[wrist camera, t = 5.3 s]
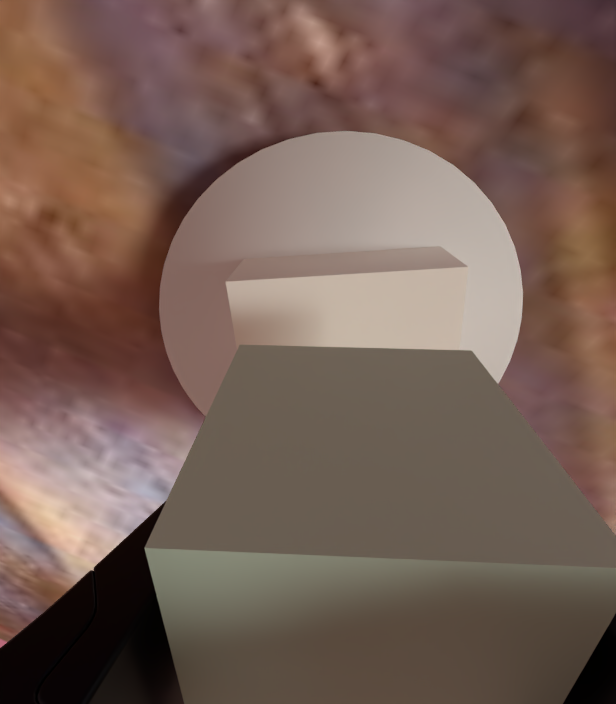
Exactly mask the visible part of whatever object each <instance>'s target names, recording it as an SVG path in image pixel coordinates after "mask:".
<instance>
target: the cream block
mask: <svg viewBox="0 0 616 704" xmlns="http://www.w3.org/2000/svg"><path fill="white" fill-rule="evenodd" d="M467 276H468V266H467V265H465V264H464V263H463V262H461V261H460V260H458V259H457V258H456V257H454V256H453V255H452V254H450V253H449V252H448V251H446V250H445V249H443V248H442V247H441V246H437V247H422V248H406V249H391V250H376V251H360V252H345V253H329V254H314V255H299V256H283V257H268V258H252V259H244V260H243V261H242V262H241V263H240V265H239V266H238V267H237V268H236V270H235V271H234V272H233V273H232V274H231V276H230V277H229V278H228V279H227V281H226V287H227V293H228V299H229V305H230V311H231V317H232V323H233V329H234V335H235V341H236V347H237V349H238V347H239V345H277V346H316V347H355V348H395V349H434V350H460V341H461V331H462V322H463V313H464V304H465V294H466V285H467Z"/></svg>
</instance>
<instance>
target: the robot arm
mask: <svg viewBox="0 0 616 704" xmlns="http://www.w3.org/2000/svg"><path fill="white" fill-rule="evenodd" d="M165 503H166V501H165V502H164V503H163V504H162V505H161V506H160V507H159V508H158V509H157V510H156V511H155V512H154V513H152V514H151V515H150V516H149V517H148V518H147V519H146V520H145V521H144V522H143V523H142V524H141V525H139V526H138V527H137V528H136V529H135V530H134V531H133V532H132V533H131V534H130V535H129V536H128V537H126V538H125V539H124V540H123V541H122V542H121V543H120V544H119V545H118V546H117V547H116V548H114V549H113V550H112V551H111V552H110V553H109V554H108V555H107V556H106V557H105V558H104V559H103V560H101V561H100V562H99V563H98V564H97V565H96V566H95V567H94V571H89V572H88V573H87V574H86V575H85V576H84V577H83V578H82V579H81V580H80V581H78V582H77V583H76V584H75V585H74V586H73V587H72V588H71V589H70V590H69V591H67V592H66V593H65V594H64V595H63V596H62V597H61V598H59V599H58V600H57V601H56V602H55V603H54V604H53V605H52V606H50V607H49V608H48V609H47V610H46V611H45V612H44V613H43V614H41V615H40V616H39V617H38V618H36V619H35V620H34V621H33V622H32V623H30V624H29V625H28V626H27V627H26V628H24V629H23V630H22V631H21V632H19V633H18V634H17V635H16V636H15V637H13V638H12V639H11V640H10V641H9V642H7V643H6V644H5V645H4V646H2V647H1V648H0V704H184V701H183V697H182V693H181V689H180V685H179V681H178V677H177V673H176V670H175V666H174V662H173V658H172V654H171V650H170V646H169V642H168V638H167V634H166V630H165V627H164V623H163V619H162V615H161V611H160V607H159V603H158V599H157V595H156V591H155V588H154V584H153V580H152V576H151V572H150V568H149V564H148V560H147V556H146V552H145V546H146V544H147V541H148V539H149V537H150V535H151V533H152V531H153V529H154V526H155V524H156V522H157V520H158V518H159V516H160V514H161V512H162V509H163V507H164V505H165ZM563 704H616V614H615V615H614V617H613V619H612V620H611V622H610V624H609V626H608V627H607V629H606V631H605V632H604V634H603V636H602V638H601V639H600V641H599V643H598V644H597V646H596V648H595V649H594V651H593V653H592V655H591V656H590V658H589V660H588V661H587V663H586V665H585V667H584V668H583V670H582V672H581V673H580V675H579V677H578V679H577V680H576V682H575V684H574V685H573V687H572V689H571V691H570V692H569V694H568V696H567V697H566V699H565V701H564V703H563Z"/></svg>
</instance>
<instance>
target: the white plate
mask: <svg viewBox="0 0 616 704" xmlns="http://www.w3.org/2000/svg"><path fill="white" fill-rule="evenodd" d="M437 246H441V247H442V248H443V249H445V250H446V251H448V252H449V253H450V254H452V255H453V256H454V257H456V258H457V259H458V260H460V261H461V262H463V263H464V264H465V265H467V266H468V276H467V285H466V294H465V304H464V313H463V322H462V331H461V341H460V350H472V351H473V353H474V354H475V355H476V357H477V358H478V359H479V360H480V362H481V363H482V364H483V366H484V367H485V368H486V369H487V371H488V372H489V373H490V375H491V376H492V377H493V378H494V380H495V381H496V382H497V384H498V383H499V381H500V380H501V378H502V376H503V374H504V372H505V370H506V368H507V366H508V364H509V362H510V360H511V357H512V354H513V351H514V348H515V345H516V342H517V339H518V334H519V329H520V324H521V319H522V303H523V290H522V279H521V270H520V266H519V262H518V258H517V254H516V250H515V247H514V244H513V242H512V240H511V237H510V235H509V232H508V230H507V228H506V225H505V223H504V222H503V220H502V219H501V217H500V215H499V214H498V212H497V211H496V209H495V207H494V206H493V204H492V203H491V201H490V200H489V199H488V198H487V197H486V196H485V195H484V193H483V192H482V191H481V190H480V189H479V188H478V186H477V185H476V184H475V183H474V182H473V181H472V180H470V179H469V178H468V177H467V176H466V175H464V174H463V173H462V172H461V171H460V170H459V169H457V168H456V167H455V166H454V165H452V164H451V163H449V162H447V161H446V160H444V159H442V158H441V157H439V156H437V155H436V154H434V153H432V152H431V151H429V150H426V149H424V148H421V147H419V146H416V145H414V144H412V143H409V142H407V141H404V140H401V139H396V138H392V137H388V136H384V135H380V134H376V133H364V132H352V131H339V132H324V133H315V134H310V135H306V136H301V137H296V138H292V139H288V140H285V141H283V142H280V143H277V144H275V145H272V146H270V147H267V148H264V149H262V150H260V151H258V152H256V153H255V154H253V155H251V156H249V157H248V158H246V159H244V160H242V161H240V162H239V163H237V164H236V165H235V166H233V167H232V168H231V169H229V170H228V171H227V172H225V173H224V174H223V175H222V176H220V177H219V178H218V179H216V180H215V181H214V182H213V184H212V185H211V186H210V187H209V188H208V189H207V190H206V191H205V192H204V193H203V194H202V195H201V196H200V197H199V198H198V199H197V201H196V202H195V203H194V205H193V206H192V208H191V209H190V210H189V212H188V213H187V215H186V216H185V217H184V219H183V221H182V223H181V225H180V226H179V228H178V230H177V232H176V234H175V236H174V238H173V240H172V242H171V245H170V248H169V251H168V254H167V257H166V260H165V263H164V268H163V273H162V278H161V284H160V298H159V314H160V324H161V332H162V336H163V341H164V345H165V349H166V353H167V355H168V358H169V360H170V363H171V366H172V368H173V371H174V373H175V375H176V376H177V378H178V380H179V382H180V384H181V386H182V388H183V389H184V391H185V392H186V393H187V395H188V396H189V398H190V399H191V400H192V402H193V403H194V405H195V406H196V407H197V408H198V409H199V410H200V411H201V412H202V414H203V415H204V416H205V417H206V416H207V413H208V411H209V409H210V407H211V405H212V403H213V401H214V398H215V396H216V394H217V392H218V390H219V388H220V386H221V384H222V381H223V379H224V377H225V375H226V373H227V371H228V369H229V366H230V364H231V362H232V360H233V358H234V356H235V354H236V351H237V347H236V341H235V335H234V329H233V323H232V317H231V311H230V305H229V299H228V293H227V287H226V281H227V279H228V278H229V277H230V276H231V274H232V273H233V272H234V271H235V270H236V268H237V267H238V266H239V265H240V263H241V262H242V261H243V260H244V259H252V258H268V257H283V256H299V255H314V254H329V253H345V252H360V251H376V250H391V249H406V248H422V247H437Z"/></svg>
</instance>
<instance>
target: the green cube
mask: <svg viewBox="0 0 616 704" xmlns="http://www.w3.org/2000/svg"><path fill="white" fill-rule="evenodd" d="M145 552H146V556H147V560H148V564H149V568H150V572H151V576H152V580H153V584H154V588H155V591H156V595H157V599H158V603H159V607H160V611H161V615H162V619H163V623H164V627H165V630H166V634H167V638H168V642H169V646H170V650H171V654H172V658H173V662H174V666H175V670H176V673H177V677H178V681H179V685H180V689H181V693H182V697H183V701H184V704H563V703H564V701H565V699H566V697H567V696H568V694H569V692H570V691H571V689H572V687H573V685H574V684H575V682H576V680H577V679H578V677H579V675H580V673H581V672H582V670H583V668H584V667H585V665H586V663H587V661H588V660H589V658H590V656H591V655H592V653H593V651H594V649H595V648H596V646H597V644H598V643H599V641H600V639H601V638H602V636H603V634H604V632H605V631H606V629H607V627H608V626H609V624H610V622H611V620H612V619H613V617H614V615H615V614H616V536H615V535H614V533H613V532H612V531H611V529H610V528H609V527H608V525H607V524H606V523H605V522H604V520H603V519H602V518H601V516H600V515H599V514H598V513H597V511H596V510H595V509H594V507H593V506H592V505H591V504H590V502H589V501H588V500H587V498H586V497H585V496H584V495H583V493H582V492H581V491H580V489H579V488H578V487H577V486H576V484H575V483H574V482H573V480H572V479H571V478H570V476H569V475H568V474H567V473H566V471H565V470H564V469H563V467H562V466H561V465H560V464H559V462H558V461H557V460H556V458H555V457H554V456H553V455H552V453H551V452H550V451H549V449H548V448H547V447H546V446H545V444H544V443H543V442H542V440H541V439H540V438H539V437H538V435H537V434H536V433H535V431H534V430H533V429H532V427H531V426H530V425H529V424H528V422H527V421H526V420H525V418H524V417H523V416H522V415H521V413H520V412H519V411H518V409H517V408H516V407H515V406H514V404H513V403H512V402H511V400H510V399H509V398H508V397H507V395H506V394H505V393H504V391H503V390H502V389H501V388H500V386H499V385H498V384H497V382H496V381H495V380H494V378H493V377H492V376H491V375H490V373H489V372H488V371H487V369H486V368H485V367H484V366H483V364H482V363H481V362H480V360H479V359H478V358H477V357H476V355H475V354H474V353H473V351H472V350H434V349H395V348H355V347H316V346H277V345H239V347H238V349H237V351H236V354H235V356H234V358H233V360H232V362H231V364H230V366H229V369H228V371H227V373H226V375H225V377H224V379H223V381H222V384H221V386H220V388H219V390H218V392H217V394H216V396H215V398H214V401H213V403H212V405H211V407H210V409H209V411H208V413H207V416H206V418H205V420H204V422H203V424H202V426H201V428H200V430H199V433H198V435H197V437H196V439H195V441H194V443H193V445H192V448H191V450H190V452H189V454H188V456H187V458H186V460H185V462H184V465H183V467H182V469H181V471H180V473H179V475H178V477H177V480H176V482H175V484H174V486H173V488H172V490H171V492H170V494H169V497H168V499H167V501H166V503H165V505H164V507H163V509H162V512H161V514H160V516H159V518H158V520H157V522H156V524H155V526H154V529H153V531H152V533H151V535H150V537H149V539H148V541H147V544H146V546H145Z"/></svg>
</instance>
